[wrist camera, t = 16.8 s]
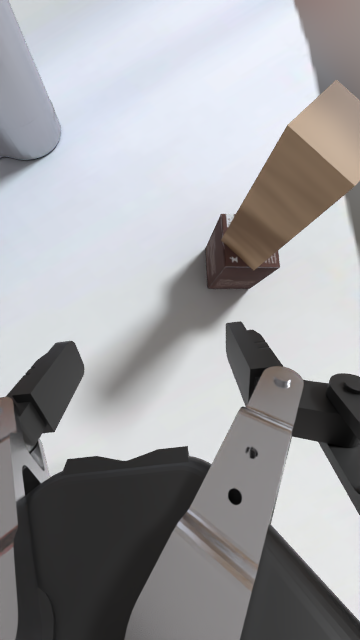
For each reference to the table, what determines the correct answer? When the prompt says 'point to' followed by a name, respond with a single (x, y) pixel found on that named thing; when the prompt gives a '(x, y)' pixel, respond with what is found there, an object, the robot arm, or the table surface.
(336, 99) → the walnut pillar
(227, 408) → the table surface
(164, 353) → the table surface
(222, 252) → the box
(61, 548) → the robot arm
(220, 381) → the table surface
